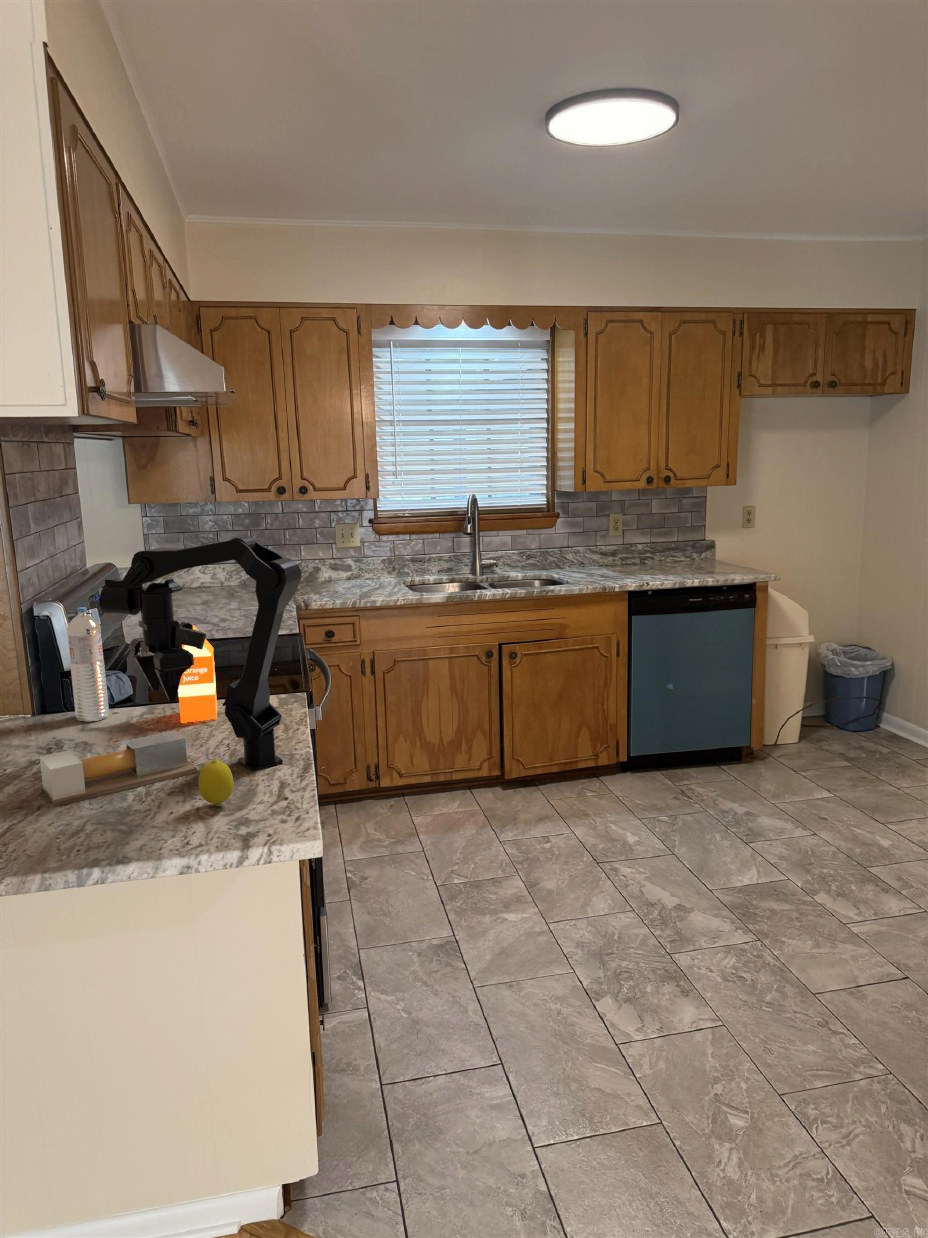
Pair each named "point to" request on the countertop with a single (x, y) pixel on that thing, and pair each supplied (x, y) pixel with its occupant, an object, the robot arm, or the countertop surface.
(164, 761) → the steel sleeve
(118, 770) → the orange tube
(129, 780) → the walnut board
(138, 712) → the countertop surface
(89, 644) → the water bottle
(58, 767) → the white socket
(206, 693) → the orange juice
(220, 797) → the lemon
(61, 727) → the countertop surface
